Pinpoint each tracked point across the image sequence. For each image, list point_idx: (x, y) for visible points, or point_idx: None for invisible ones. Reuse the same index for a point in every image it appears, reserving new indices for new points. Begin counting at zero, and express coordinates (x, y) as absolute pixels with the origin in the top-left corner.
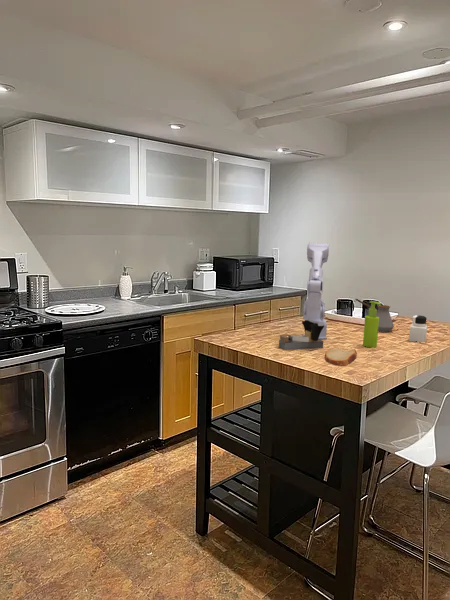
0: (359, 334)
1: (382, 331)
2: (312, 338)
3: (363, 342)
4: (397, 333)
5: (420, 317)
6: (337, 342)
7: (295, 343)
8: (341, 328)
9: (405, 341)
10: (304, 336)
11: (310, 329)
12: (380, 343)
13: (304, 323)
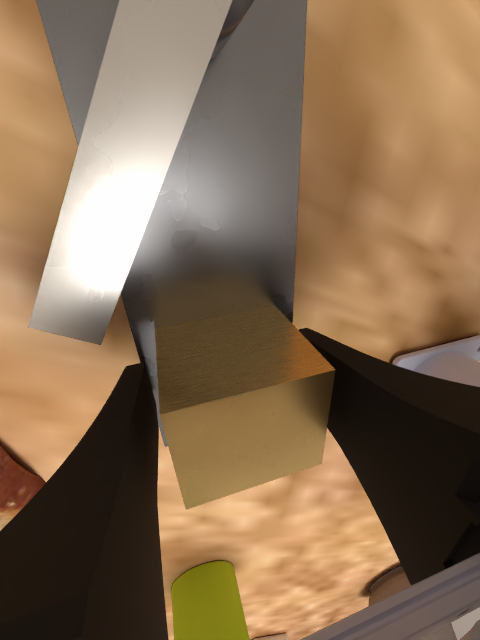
0: (379, 540)
1: (376, 584)
2: (140, 374)
3: (210, 584)
4: (348, 605)
5: None
6: (291, 480)
7: (57, 57)
8: None
9: (256, 632)
10: (99, 265)
11: (345, 429)
12: (241, 596)
13: (461, 435)
